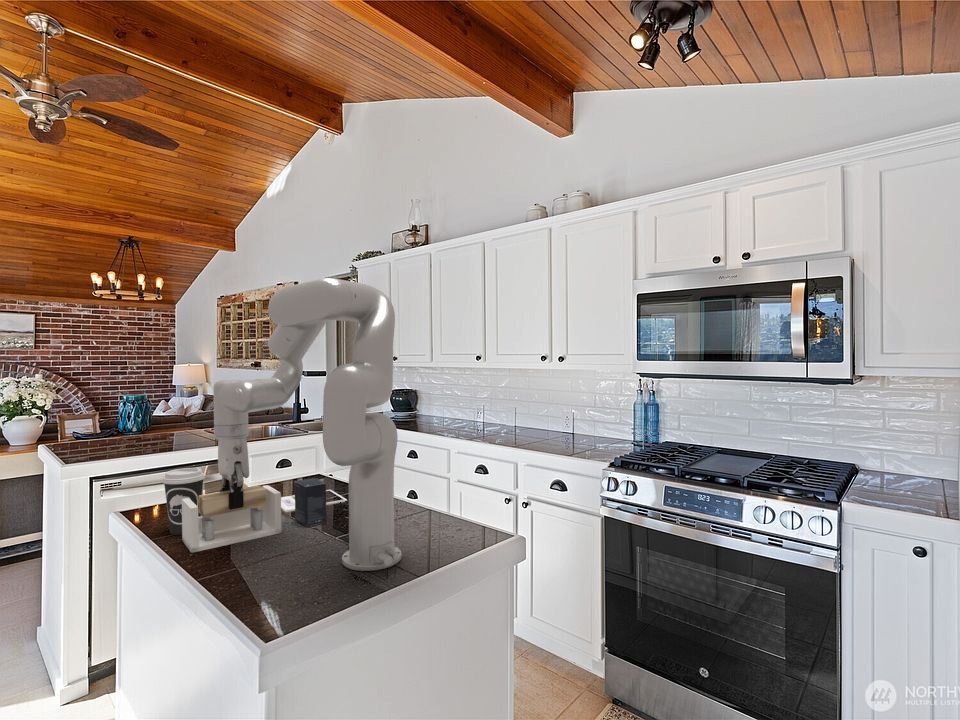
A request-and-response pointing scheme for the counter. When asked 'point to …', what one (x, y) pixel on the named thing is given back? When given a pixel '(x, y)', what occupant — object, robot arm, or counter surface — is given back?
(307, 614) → the counter surface
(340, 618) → the counter surface
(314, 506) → the box
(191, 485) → the coffee cup
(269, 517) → the peg frame
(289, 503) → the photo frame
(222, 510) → the oak board
